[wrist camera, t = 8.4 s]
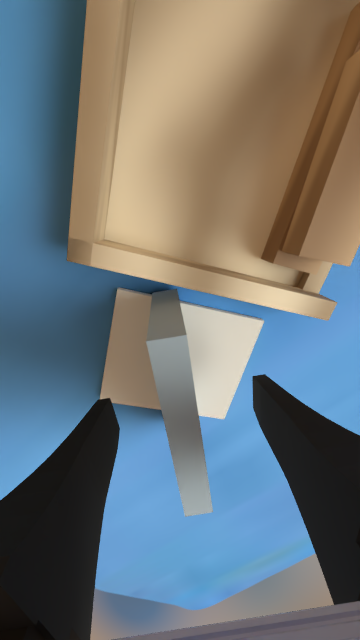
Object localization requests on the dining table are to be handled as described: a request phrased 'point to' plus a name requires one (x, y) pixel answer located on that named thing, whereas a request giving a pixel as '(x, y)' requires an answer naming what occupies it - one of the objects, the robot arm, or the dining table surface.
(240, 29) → the wooden tray
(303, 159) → the offcut lower
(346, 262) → the offcut upper
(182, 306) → the mat
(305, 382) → the dining table surface
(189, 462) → the sheet
